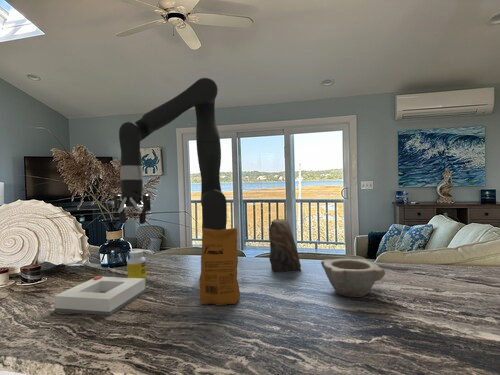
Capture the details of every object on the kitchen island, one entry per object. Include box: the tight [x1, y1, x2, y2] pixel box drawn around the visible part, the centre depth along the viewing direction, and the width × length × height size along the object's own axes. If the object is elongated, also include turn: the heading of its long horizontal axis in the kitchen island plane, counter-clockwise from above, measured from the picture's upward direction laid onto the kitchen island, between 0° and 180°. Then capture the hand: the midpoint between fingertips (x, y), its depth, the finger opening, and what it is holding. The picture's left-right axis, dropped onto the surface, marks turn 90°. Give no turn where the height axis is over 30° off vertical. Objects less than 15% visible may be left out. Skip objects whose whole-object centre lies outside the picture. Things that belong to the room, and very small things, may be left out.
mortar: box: [320, 258, 386, 298], centre depth 96 cm, size 17×17×9 cm
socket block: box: [53, 275, 146, 316], centre depth 94 cm, size 18×18×5 cm
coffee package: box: [199, 227, 241, 306], centre depth 92 cm, size 10×12×22 cm
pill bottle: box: [126, 249, 147, 283], centre depth 110 cm, size 6×6×12 cm
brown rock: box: [268, 217, 302, 274], centre depth 125 cm, size 13×13×20 cm
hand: (132, 223), depth 109 cm, fingers open, 8 cm apart
